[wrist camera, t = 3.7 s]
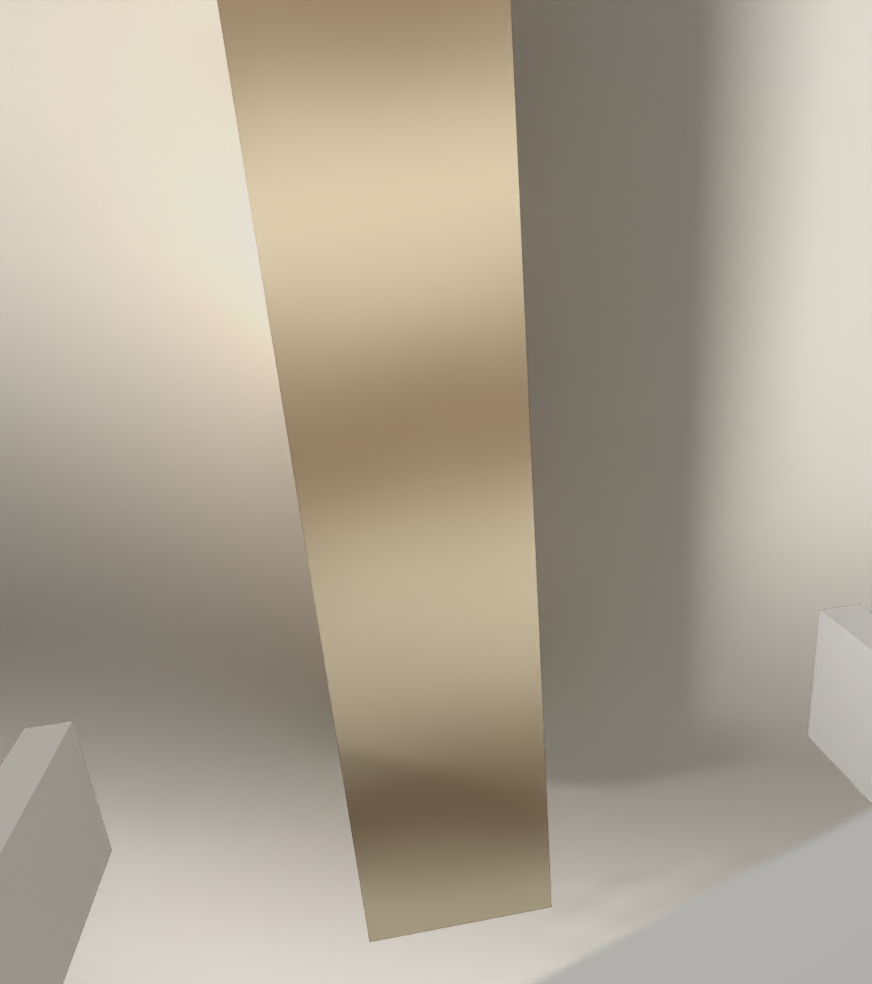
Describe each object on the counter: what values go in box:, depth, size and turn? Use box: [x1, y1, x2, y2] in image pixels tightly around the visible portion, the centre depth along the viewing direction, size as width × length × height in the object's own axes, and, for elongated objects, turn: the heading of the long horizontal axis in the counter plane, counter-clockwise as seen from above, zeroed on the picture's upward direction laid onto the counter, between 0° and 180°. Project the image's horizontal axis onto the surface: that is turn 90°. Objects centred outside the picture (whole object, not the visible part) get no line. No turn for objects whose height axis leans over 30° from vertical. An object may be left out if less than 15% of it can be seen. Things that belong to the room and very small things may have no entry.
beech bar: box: [217, 0, 552, 942], centre depth 15 cm, size 22×4×6 cm, turn 5°
